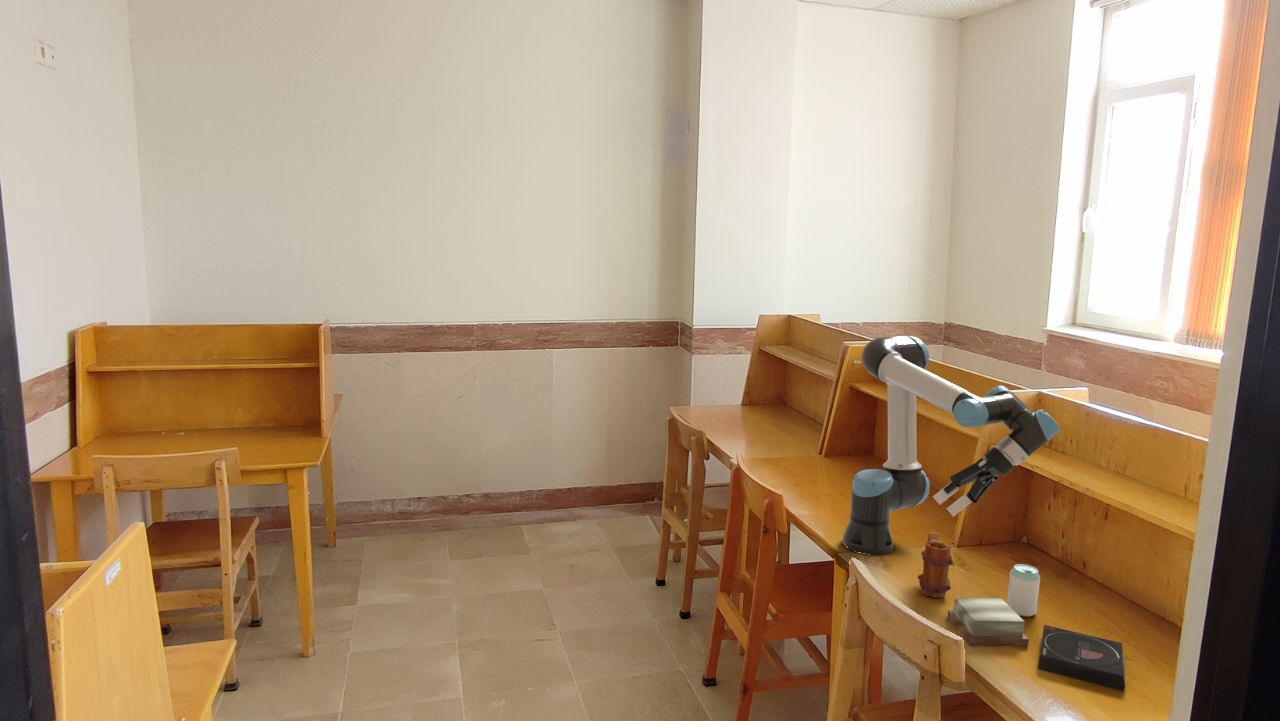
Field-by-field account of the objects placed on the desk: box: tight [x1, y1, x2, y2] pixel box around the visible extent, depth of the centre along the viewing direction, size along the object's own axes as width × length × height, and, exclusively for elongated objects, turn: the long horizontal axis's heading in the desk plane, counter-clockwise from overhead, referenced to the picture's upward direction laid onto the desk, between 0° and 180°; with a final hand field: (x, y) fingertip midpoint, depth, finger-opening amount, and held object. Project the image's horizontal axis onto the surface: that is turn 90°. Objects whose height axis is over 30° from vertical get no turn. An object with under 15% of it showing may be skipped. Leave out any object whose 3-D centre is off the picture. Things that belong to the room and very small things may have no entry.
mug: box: [917, 531, 954, 598], centre depth 224 cm, size 15×8×15 cm, turn 168°
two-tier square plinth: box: [946, 597, 1030, 648], centre depth 202 cm, size 14×14×6 cm
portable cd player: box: [1037, 624, 1126, 692], centre depth 189 cm, size 16×17×4 cm
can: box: [1006, 563, 1041, 618], centre depth 213 cm, size 7×7×12 cm
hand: (943, 507), depth 224 cm, fingers open, 13 cm apart
